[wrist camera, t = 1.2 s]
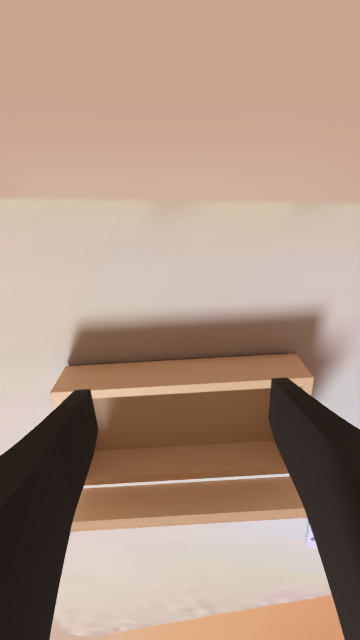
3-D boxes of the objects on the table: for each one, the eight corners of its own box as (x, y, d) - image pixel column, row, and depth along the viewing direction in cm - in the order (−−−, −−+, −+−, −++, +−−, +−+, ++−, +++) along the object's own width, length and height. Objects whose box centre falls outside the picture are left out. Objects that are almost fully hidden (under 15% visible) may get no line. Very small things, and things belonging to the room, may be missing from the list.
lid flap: (295, 476, 22) (295, 485, 22) (80, 488, 22) (80, 497, 22) (324, 507, 17) (325, 518, 17) (54, 523, 17) (54, 534, 17)
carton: (285, 440, 25) (300, 472, 22) (85, 452, 25) (74, 485, 22) (295, 353, 21) (313, 377, 19) (65, 366, 21) (50, 392, 19)
